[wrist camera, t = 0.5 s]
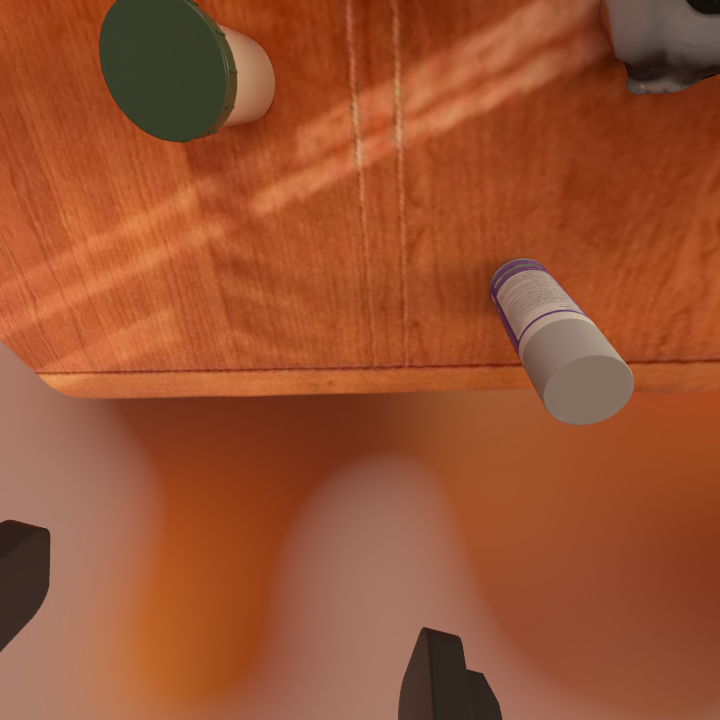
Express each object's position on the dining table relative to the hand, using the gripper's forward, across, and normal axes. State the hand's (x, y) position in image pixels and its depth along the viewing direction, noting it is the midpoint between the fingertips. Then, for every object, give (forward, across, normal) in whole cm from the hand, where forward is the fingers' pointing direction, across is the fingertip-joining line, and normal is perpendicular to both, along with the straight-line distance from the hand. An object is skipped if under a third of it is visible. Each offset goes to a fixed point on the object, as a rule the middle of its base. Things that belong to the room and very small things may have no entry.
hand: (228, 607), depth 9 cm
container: (+30, -12, -6) cm, 33 cm away
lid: (+16, +11, -13) cm, 23 cm away
